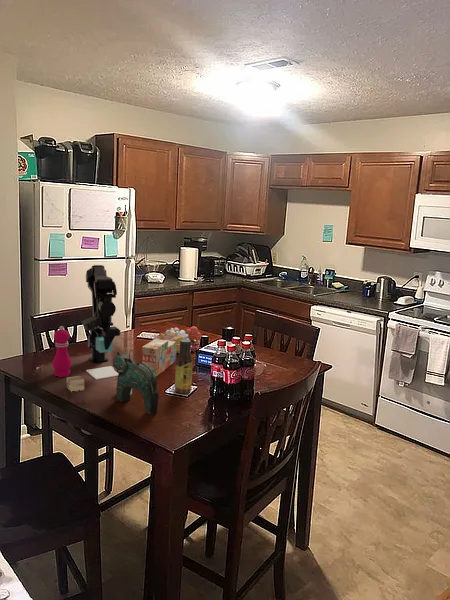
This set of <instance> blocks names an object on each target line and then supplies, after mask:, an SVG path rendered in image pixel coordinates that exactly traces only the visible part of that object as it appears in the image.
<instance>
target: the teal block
mask: <svg viewBox="0 0 450 600" xmlns="http://www.w3.org/2000/svg"><path fill="white" fill-rule="evenodd" d="M96 350H97V351H99V352H100V353H103V352H105V353H108V352H113V342H112V343H111V345H110V347H109V349H108V350H105V346H104V338H103V337H96Z"/></svg>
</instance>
